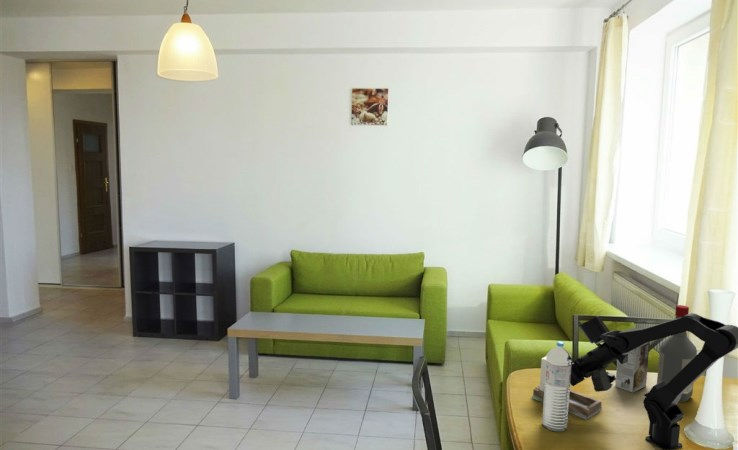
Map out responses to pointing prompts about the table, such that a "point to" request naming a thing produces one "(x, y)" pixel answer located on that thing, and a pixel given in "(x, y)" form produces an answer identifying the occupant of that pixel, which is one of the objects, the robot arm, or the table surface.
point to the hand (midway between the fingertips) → (563, 379)
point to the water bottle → (557, 389)
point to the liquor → (676, 355)
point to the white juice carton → (543, 373)
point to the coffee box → (633, 370)
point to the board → (576, 403)
